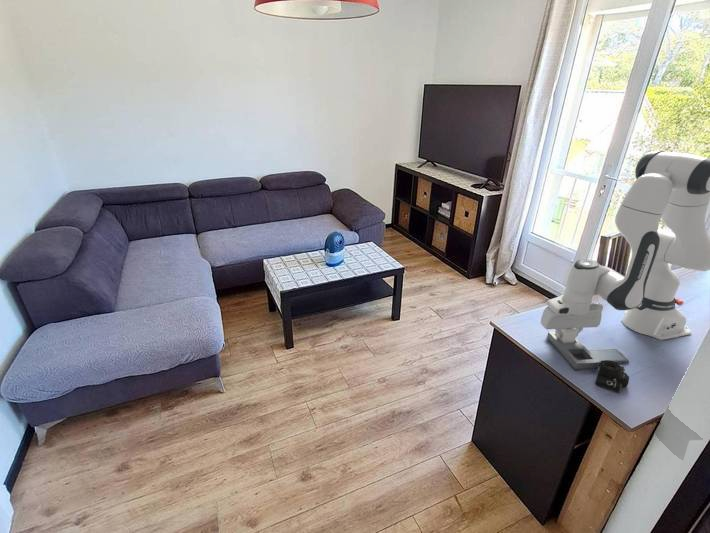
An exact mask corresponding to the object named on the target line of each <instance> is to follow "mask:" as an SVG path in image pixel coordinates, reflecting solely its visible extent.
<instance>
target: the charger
mask: <svg viewBox="0 0 710 533" xmlns="http://www.w3.org/2000/svg"><path fill="white" fill-rule="evenodd" d="M577 332H578V331H577V330H576V329H575V328H566V329H562V330H561V333H563V336H562V338H558V337H557V338H558V339H559V340H560V341H561V342H562V343H574V342H575V339H576V338H577V337H576V335H577Z"/></svg>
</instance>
